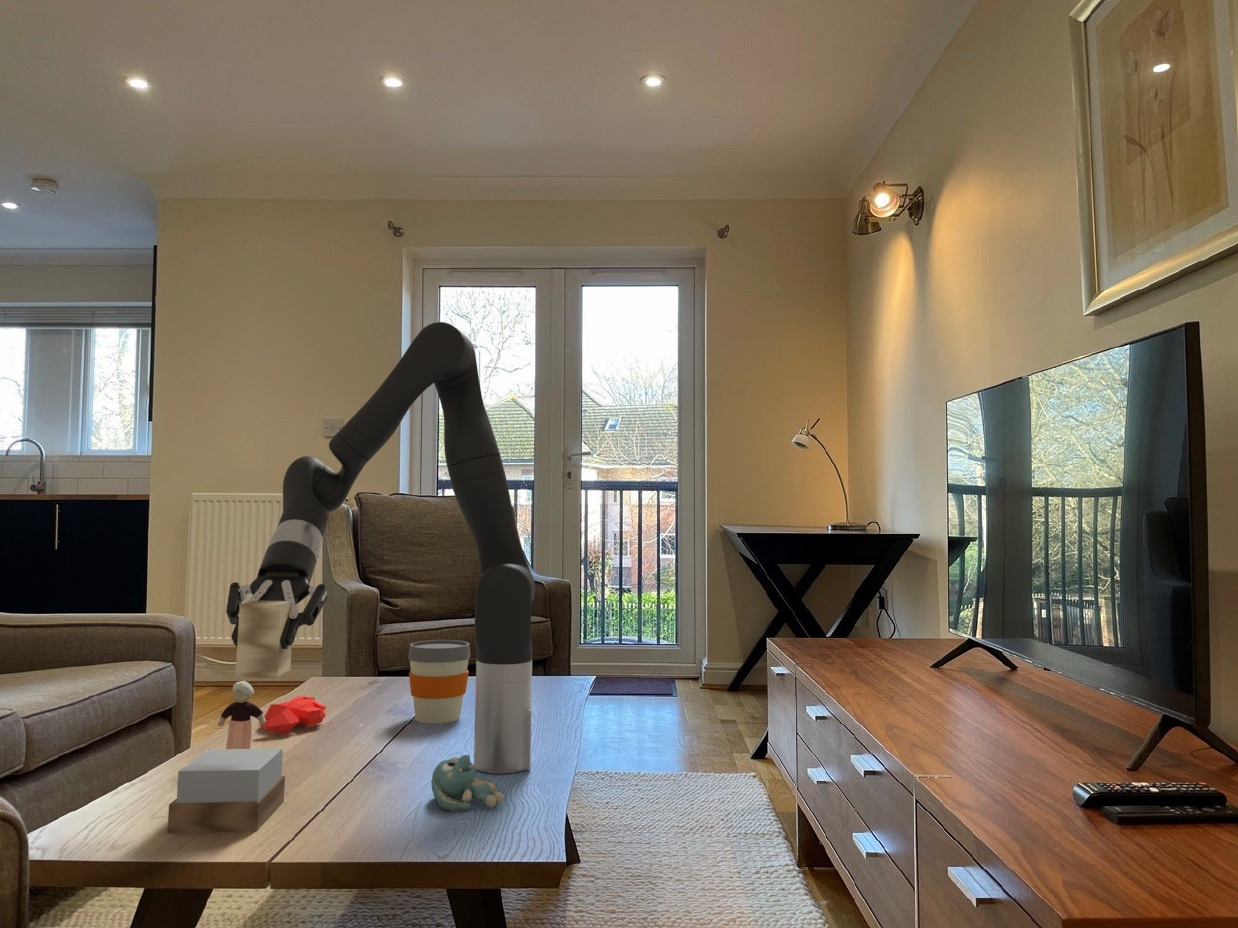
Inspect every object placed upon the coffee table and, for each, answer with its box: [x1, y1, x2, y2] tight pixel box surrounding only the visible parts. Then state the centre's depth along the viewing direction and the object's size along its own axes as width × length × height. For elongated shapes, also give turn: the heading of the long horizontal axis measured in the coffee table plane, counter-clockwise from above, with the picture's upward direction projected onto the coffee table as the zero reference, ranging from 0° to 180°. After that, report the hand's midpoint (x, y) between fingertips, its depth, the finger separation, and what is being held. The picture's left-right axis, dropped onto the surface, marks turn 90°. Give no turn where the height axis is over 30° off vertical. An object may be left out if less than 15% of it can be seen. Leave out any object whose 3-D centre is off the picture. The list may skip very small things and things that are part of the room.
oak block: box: [234, 600, 293, 679], centre depth 114 cm, size 6×6×10 cm
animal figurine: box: [259, 695, 327, 735], centre depth 155 cm, size 12×15×5 cm
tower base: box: [166, 775, 286, 834], centre depth 108 cm, size 11×11×4 cm
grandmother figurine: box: [217, 680, 266, 749], centre depth 135 cm, size 8×4×13 cm, turn 105°
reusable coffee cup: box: [407, 639, 471, 725], centre depth 164 cm, size 13×13×15 cm
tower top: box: [176, 747, 284, 803], centre depth 108 cm, size 10×10×4 cm
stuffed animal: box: [430, 754, 504, 813], centre depth 115 cm, size 11×7×12 cm
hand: (260, 644), depth 112 cm, fingers closed on oak block, 5 cm apart
